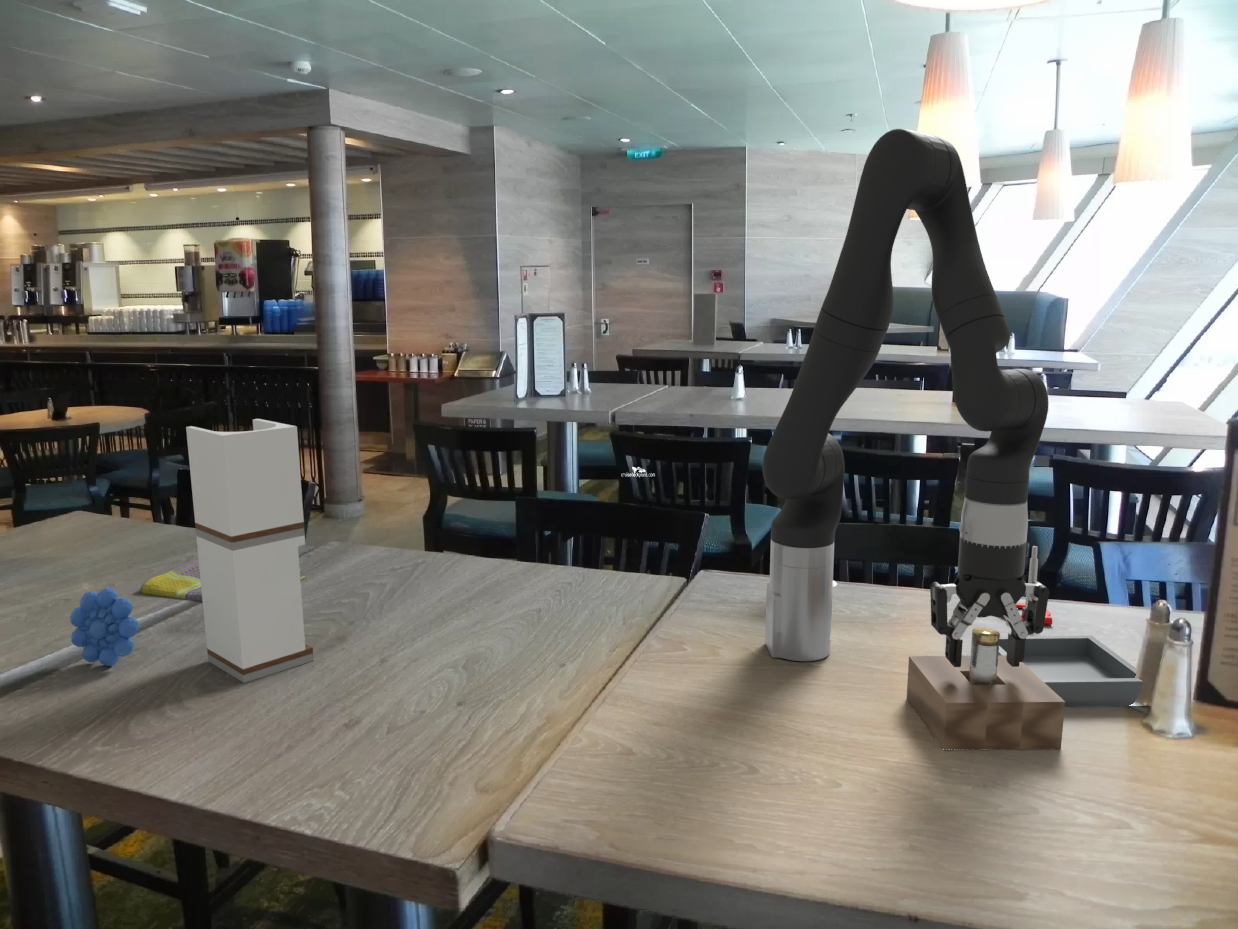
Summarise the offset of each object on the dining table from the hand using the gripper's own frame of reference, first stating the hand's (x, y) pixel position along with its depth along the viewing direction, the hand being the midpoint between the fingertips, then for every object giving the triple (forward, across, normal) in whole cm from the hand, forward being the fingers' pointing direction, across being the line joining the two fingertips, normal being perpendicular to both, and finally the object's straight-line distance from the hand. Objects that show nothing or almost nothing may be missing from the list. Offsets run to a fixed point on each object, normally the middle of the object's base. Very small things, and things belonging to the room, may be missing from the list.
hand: (983, 664), depth 117 cm
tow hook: (+8, +22, +38) cm, 45 cm away
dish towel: (+8, -118, +58) cm, 132 cm away
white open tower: (+8, -98, +22) cm, 101 cm away
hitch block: (+8, 0, 0) cm, 8 cm away
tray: (+8, +16, +12) cm, 21 cm away
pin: (+8, 0, 0) cm, 8 cm away
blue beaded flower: (+8, -120, +22) cm, 122 cm away
